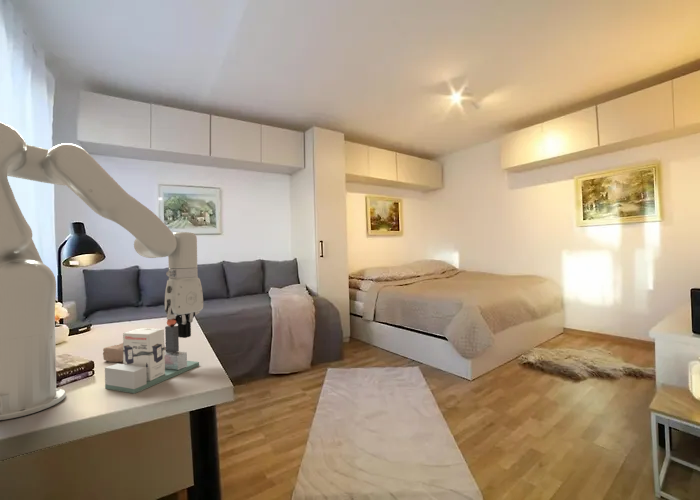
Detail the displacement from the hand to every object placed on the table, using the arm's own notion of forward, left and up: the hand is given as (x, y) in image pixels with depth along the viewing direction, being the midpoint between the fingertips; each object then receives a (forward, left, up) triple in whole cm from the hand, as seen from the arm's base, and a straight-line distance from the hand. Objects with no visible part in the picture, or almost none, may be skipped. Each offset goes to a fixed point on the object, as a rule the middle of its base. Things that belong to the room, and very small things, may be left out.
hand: (184, 336), depth 93 cm
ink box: (-12, 0, -7) cm, 14 cm away
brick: (+3, +25, -9) cm, 26 cm away
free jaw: (-5, 0, -7) cm, 8 cm away
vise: (-9, 0, -8) cm, 12 cm away
